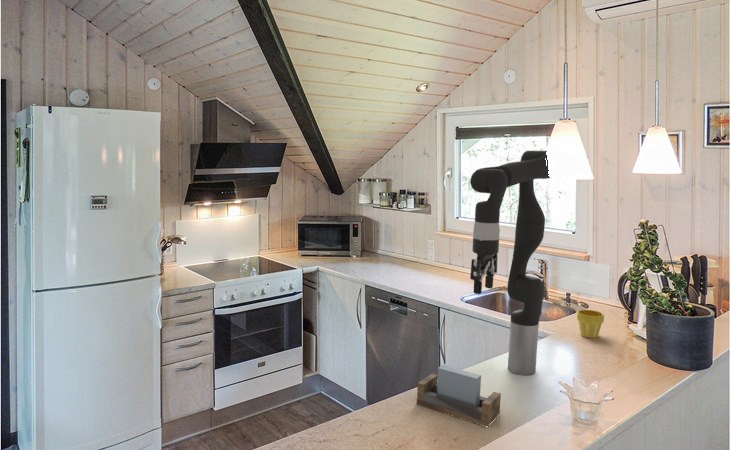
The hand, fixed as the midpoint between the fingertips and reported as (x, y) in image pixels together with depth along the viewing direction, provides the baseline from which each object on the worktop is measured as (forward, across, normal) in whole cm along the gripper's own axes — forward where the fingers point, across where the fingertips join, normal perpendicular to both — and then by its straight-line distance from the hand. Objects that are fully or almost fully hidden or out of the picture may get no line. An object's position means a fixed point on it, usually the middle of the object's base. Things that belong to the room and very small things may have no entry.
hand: (483, 290), depth 156 cm
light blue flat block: (+32, +12, -1) cm, 34 cm away
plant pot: (+33, -82, +14) cm, 90 cm away
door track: (+33, +12, -1) cm, 35 cm away
